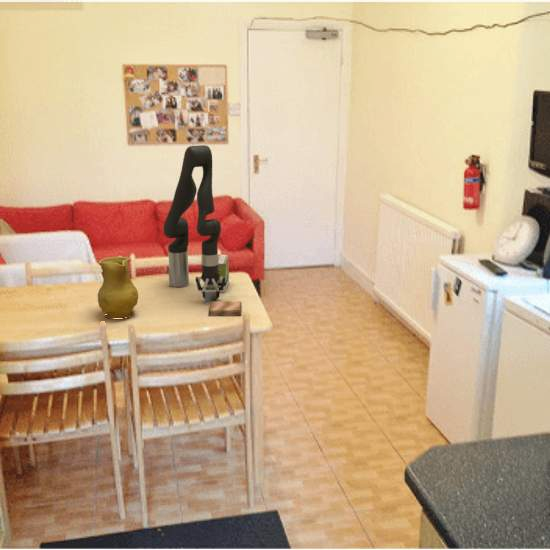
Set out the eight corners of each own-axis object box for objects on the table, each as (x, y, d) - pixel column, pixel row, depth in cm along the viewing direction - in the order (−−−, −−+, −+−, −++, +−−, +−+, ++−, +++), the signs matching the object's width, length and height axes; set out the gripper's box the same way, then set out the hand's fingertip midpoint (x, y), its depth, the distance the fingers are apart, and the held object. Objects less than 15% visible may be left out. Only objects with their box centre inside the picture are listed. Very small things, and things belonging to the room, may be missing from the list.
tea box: (226, 293, 321) (226, 263, 316) (205, 292, 321) (204, 263, 317) (229, 282, 335) (228, 254, 331) (209, 282, 336) (208, 253, 331)
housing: (205, 304, 306) (204, 290, 304) (206, 298, 314) (205, 284, 312) (216, 304, 307) (215, 289, 304) (217, 298, 314) (216, 284, 312)
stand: (208, 316, 293) (208, 310, 292) (210, 306, 304) (210, 300, 304) (240, 315, 293) (240, 310, 293) (241, 305, 305) (241, 300, 304)
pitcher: (96, 322, 285) (93, 265, 278) (100, 308, 303) (98, 254, 296) (138, 321, 288) (136, 264, 281) (139, 307, 306) (138, 253, 299)
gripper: (226, 260, 308) (227, 295, 314) (194, 260, 308) (196, 295, 313) (225, 265, 301) (226, 301, 306) (193, 265, 301) (194, 301, 306)
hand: (211, 298), depth 310 cm, fingers closed on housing, 5 cm apart
